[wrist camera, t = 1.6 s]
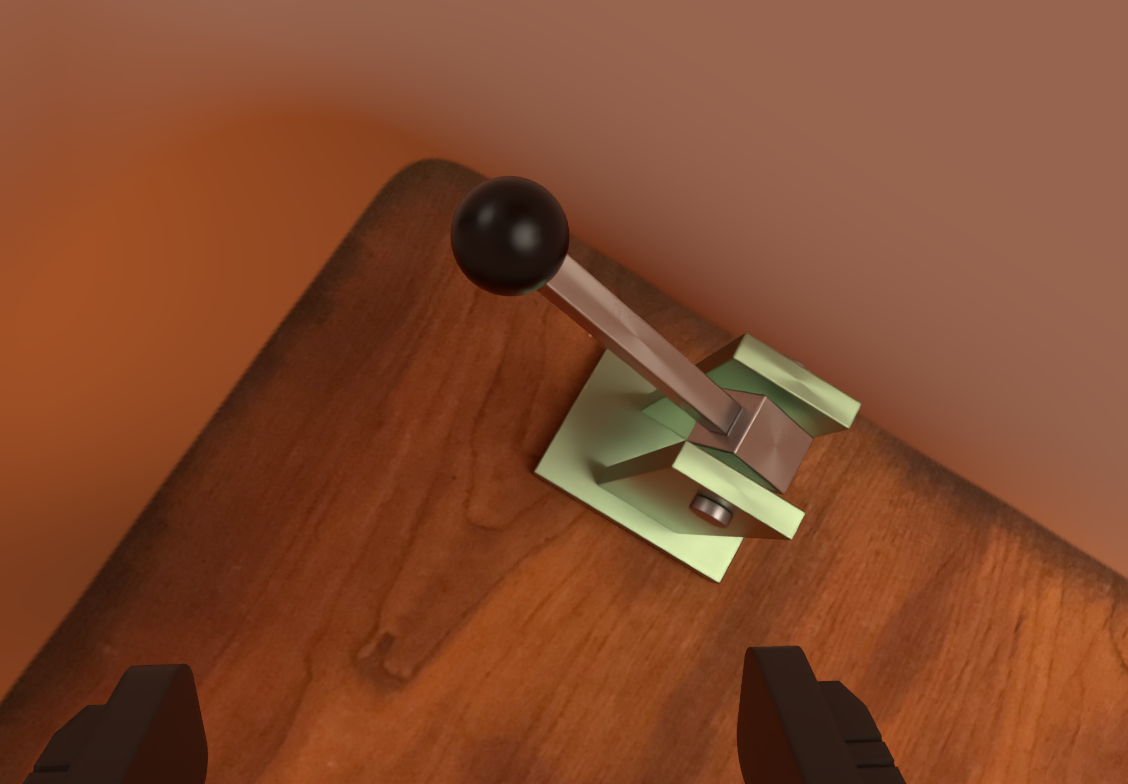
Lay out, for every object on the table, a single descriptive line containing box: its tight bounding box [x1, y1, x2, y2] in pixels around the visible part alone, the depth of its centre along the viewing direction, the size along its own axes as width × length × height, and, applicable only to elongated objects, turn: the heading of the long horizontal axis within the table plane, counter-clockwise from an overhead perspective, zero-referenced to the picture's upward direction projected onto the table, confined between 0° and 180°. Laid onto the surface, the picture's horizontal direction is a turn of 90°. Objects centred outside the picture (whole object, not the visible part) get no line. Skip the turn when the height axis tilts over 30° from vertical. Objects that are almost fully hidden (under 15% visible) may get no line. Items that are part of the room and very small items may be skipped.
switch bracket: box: [532, 333, 862, 584], centre depth 35 cm, size 10×7×15 cm
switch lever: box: [451, 176, 813, 494], centre depth 27 cm, size 14×3×3 cm, turn 59°
